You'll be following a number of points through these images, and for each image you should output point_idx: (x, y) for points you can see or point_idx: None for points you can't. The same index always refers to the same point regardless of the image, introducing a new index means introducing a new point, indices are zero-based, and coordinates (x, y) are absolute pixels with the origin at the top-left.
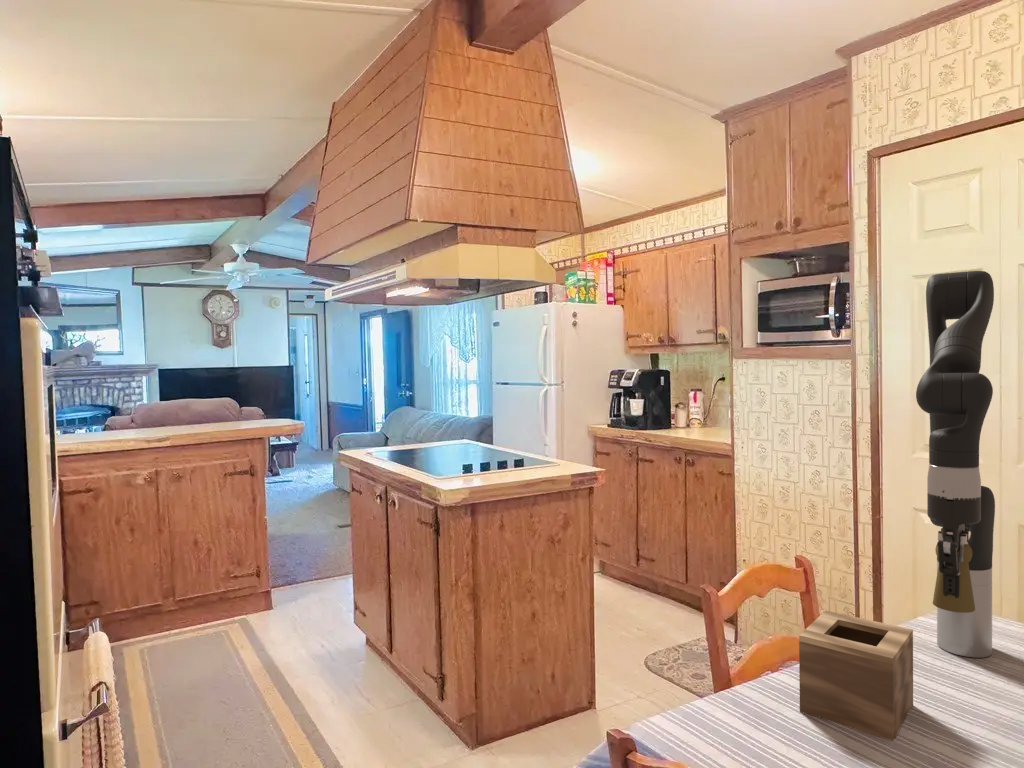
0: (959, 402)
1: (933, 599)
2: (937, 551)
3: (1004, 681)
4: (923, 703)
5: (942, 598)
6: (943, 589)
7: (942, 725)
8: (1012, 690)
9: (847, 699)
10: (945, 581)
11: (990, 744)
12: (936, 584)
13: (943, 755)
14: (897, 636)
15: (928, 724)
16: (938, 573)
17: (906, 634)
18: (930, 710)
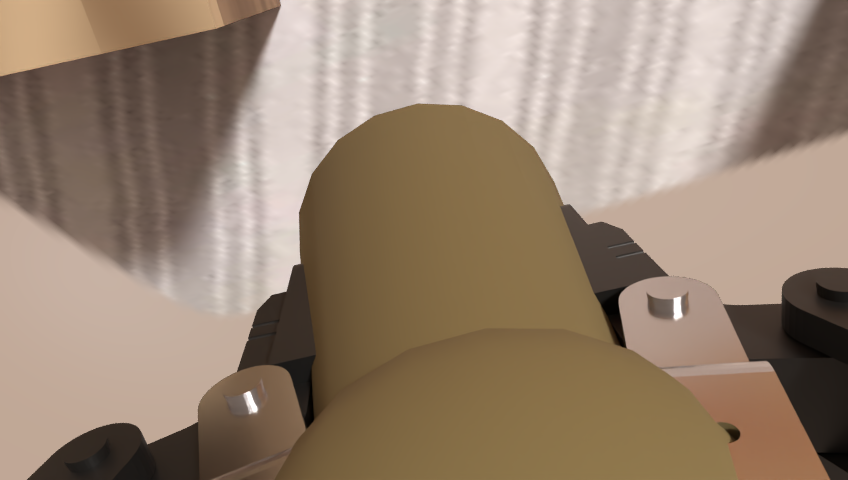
0: None
1: (367, 133)
2: (302, 467)
3: (715, 143)
4: (326, 25)
5: (304, 239)
6: (289, 284)
7: (225, 132)
8: (657, 182)
9: None
10: (243, 361)
11: (235, 261)
12: (359, 202)
13: (49, 205)
14: (12, 14)
15: (191, 100)
16: (359, 269)
17: (98, 38)
18: (294, 64)
